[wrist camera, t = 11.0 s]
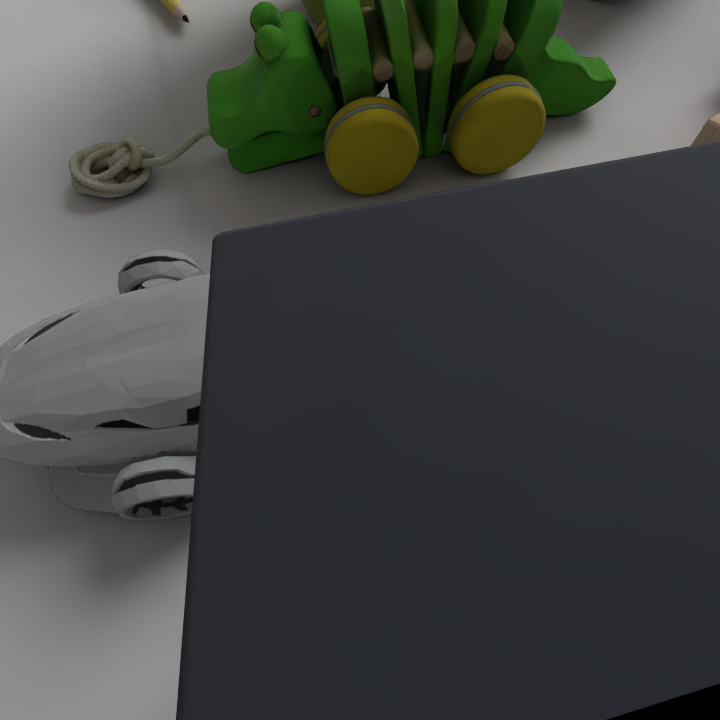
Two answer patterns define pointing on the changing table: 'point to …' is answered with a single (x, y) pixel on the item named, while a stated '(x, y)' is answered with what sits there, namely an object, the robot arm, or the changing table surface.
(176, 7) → the pencil
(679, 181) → the dark grey rectangular block
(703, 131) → the toy figure
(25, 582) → the changing table surface
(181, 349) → the car model
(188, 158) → the changing table surface
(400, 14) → the toy alligator
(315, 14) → the flower pot
